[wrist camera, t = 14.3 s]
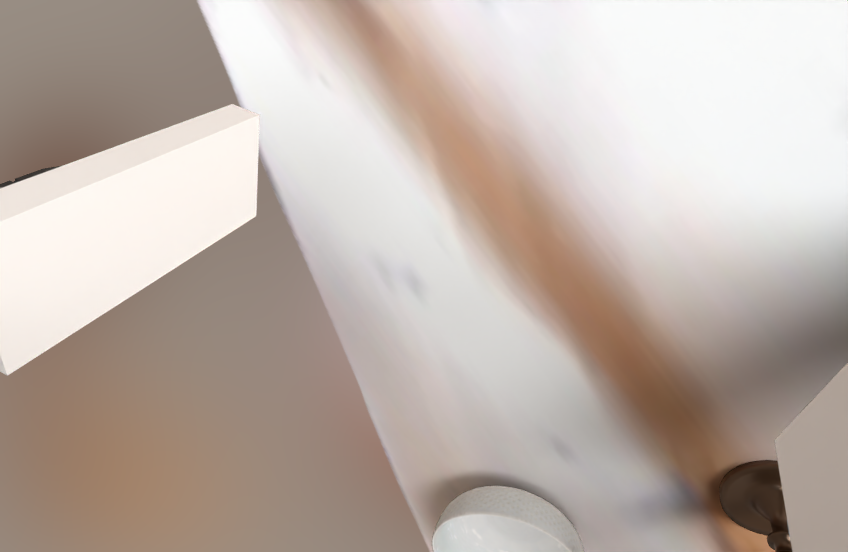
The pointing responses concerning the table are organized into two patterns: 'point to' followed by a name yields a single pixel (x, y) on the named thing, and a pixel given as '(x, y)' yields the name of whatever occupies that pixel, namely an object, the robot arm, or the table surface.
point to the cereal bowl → (503, 524)
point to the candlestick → (757, 501)
